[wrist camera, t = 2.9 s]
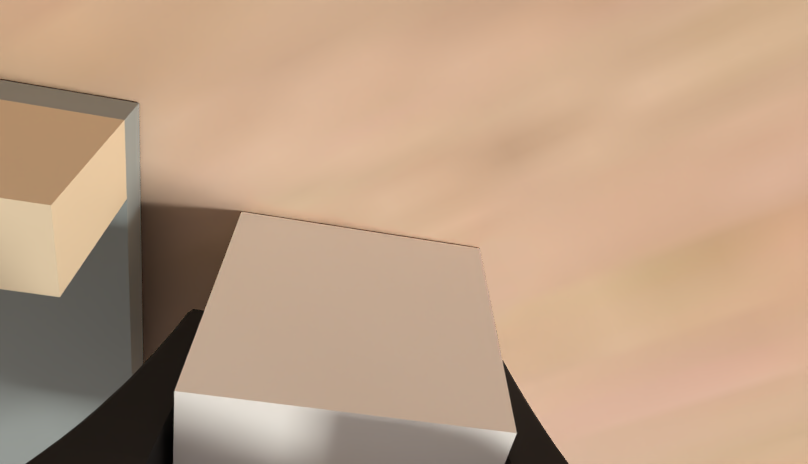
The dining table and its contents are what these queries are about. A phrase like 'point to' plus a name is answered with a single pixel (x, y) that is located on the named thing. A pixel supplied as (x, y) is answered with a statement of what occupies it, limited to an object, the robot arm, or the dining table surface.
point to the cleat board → (77, 321)
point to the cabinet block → (343, 353)
